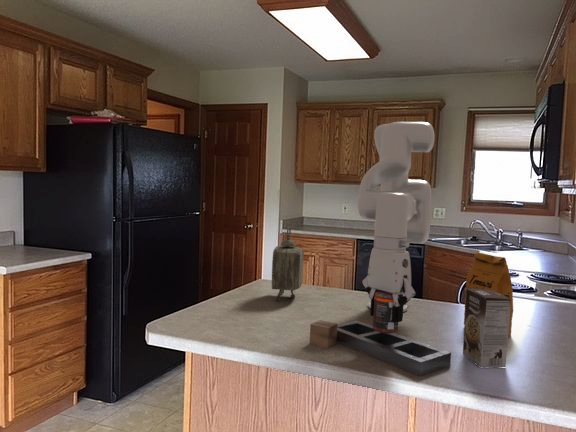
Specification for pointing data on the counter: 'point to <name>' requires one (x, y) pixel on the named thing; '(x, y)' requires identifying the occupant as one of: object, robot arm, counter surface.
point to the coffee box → (486, 327)
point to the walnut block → (323, 333)
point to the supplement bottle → (384, 313)
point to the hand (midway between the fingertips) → (386, 317)
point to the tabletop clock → (287, 266)
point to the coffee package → (491, 278)
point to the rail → (393, 348)
